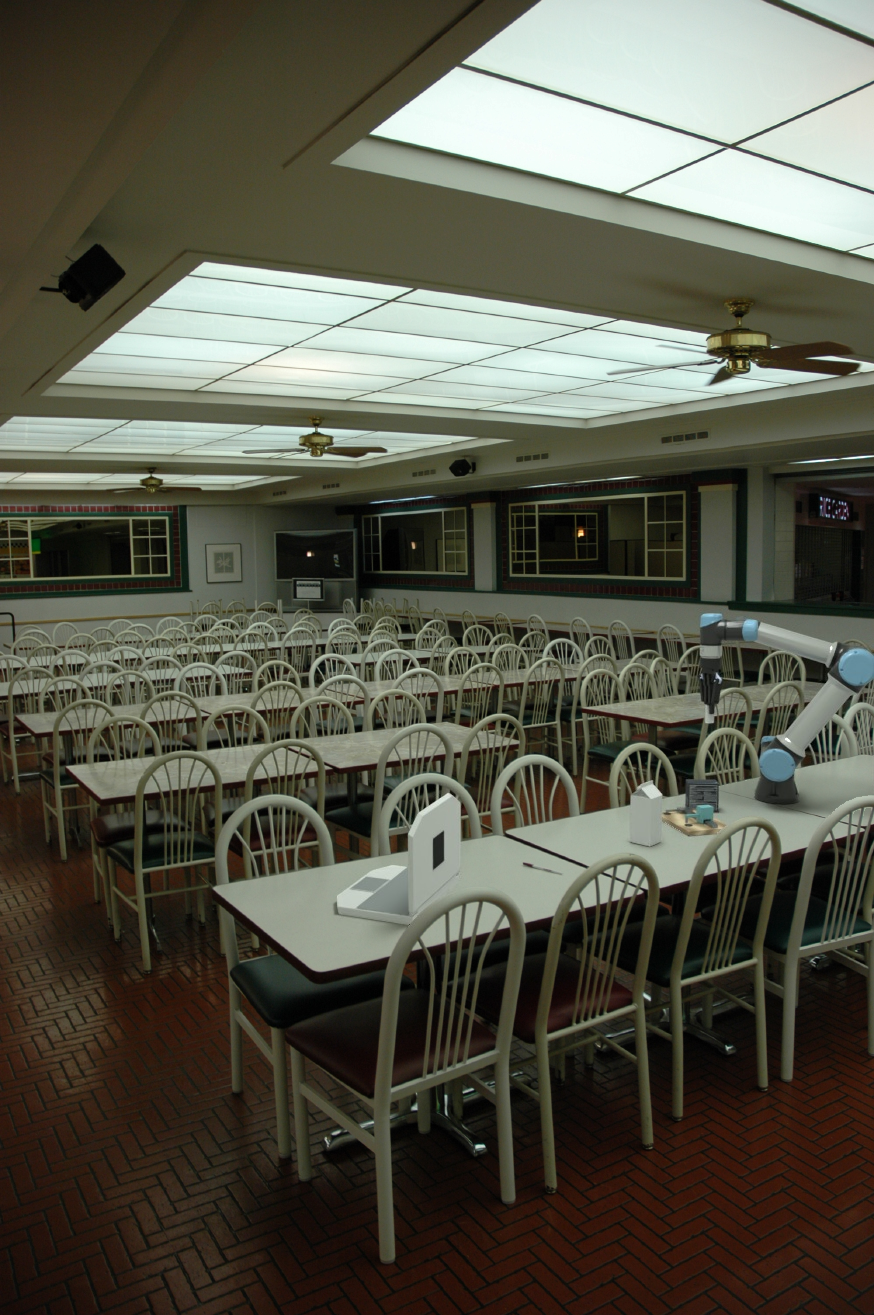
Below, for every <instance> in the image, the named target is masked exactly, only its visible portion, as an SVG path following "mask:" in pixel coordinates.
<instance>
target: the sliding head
mask: <svg viewBox="0 0 874 1315" xmlns="http://www.w3.org/2000/svg"><path fill="white" fill-rule="evenodd" d="M713 810H714V807H712V806H710V805H698V806H697V810H696V814H688V815H685V823H688V818H690V817H696V821H697V822H699V823H701V824H703V820H704V819H709V820H710V821H712V822H713V818H714V812H713Z"/></svg>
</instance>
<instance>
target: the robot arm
mask: <svg viewBox="0 0 874 1315" xmlns="http://www.w3.org/2000/svg"><path fill="white" fill-rule="evenodd" d="M723 617H724V616H723V614H722V613H712V612H711V613H709V612H708V613H703V614H701V615H700V624H699V656H700V658H699V668H700V669H701V674H697V675H696V676H697V680H698V684H699V685H698V686H699V694H700V701H701V703H702V702H703V705H704V723H705V724H714V723H715V707H716V705H719V703H720V698H721V691H722V685H723V683H724V678H723V677H721V676H720V672H719V670H720V669H721V668H723V665H722V663H723V662H722V661H723V660H722V658H721V657H722V656H723V641H727V642H729V641H731V642H732V641H734V642H754V643H756V644H760V645H763V646H767V647H770V648H772V649H775V650H780V651H783V652H786V653H790V654H792V655H796V656H798V657H802V658H806V659H809V660H812V661H816V662H818V663H822V664H825V666H826V668H829V669H830V670H829V672H828V671H827V672H828V673H827V677H828V679H827V681H826V683H824V685H823V686H822V687H821V688H820V689H819V691H818V692H817V693H816V694H815V695H814V697H813V698H812V699H811V701H810V702H809V703H808V704H807V705H806V706H805V708H803V710H802V711H801V713H800V714H799V715H798V716H797V717H796V718H795V720H793V722H792V723H791V725H790V726H789V727H788V729H787V730H786V731H785V732H784V733H782V734H777V735H774V736H773V735H764V736H762V738H761V741H760V745H761V746H760V747H761V748H760V749H761V750H760V755H759V758H758V768H759V771H760V772H759V780H758V782H757V784H756V788H755V789H754V799H756V800H758V801H761V802H764V803H771V804H778V805H780V804H781V805H789V804H795V803H797V802H799V799H800V798H799V797H800V796H799V792H798V791H799V790H798V787H797V785H796V781H795V771H796V769H797V767H798V766H799V765H800V763H801V762H802V761H803V760H804V759H805V757H806V751H805V750H806V749H807V748H808V747H809V746H810V744H811V743H812V742H813V741H814V740H815V738H816V737H817V736H818V735H819V734H820V733H821V732H822V730H823V729H824V727H825V726H826V725H827V724H828V723H829V722H830V720H831V719H832V718H833V717H834V716H835V715H836V713H837V712H838V711H839V709H840V708H842V706H843V705H844V703H846V702H847V700H849V698H850V696H854V695H858V694H859V693H860V692H861V691H862V690H863V688H864V687H866V685H867V684H869V683H870V682H872V681H873V680H874V654H872V652H871V651H870V650H869V649H867V648H866V647H863V646H860V645H859V646H858V645H853V644H847V643H842V642H840V641H834V642H829V641H827V640H824V639H819V638H816V637H812V636H810V635H806V634H802V633H799V632H795V631H792V630H789V629H785V628H782V627H778V626H775V625H772V624H769V623H766V622H765V623H764V622H762V621H758V620H756V619H752V618H751V617H747V616H739V617H737V618H736V619H728V618H727V619H725V618H723Z"/></svg>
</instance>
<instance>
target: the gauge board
mask: <svg viewBox="0 0 874 1315" xmlns="http://www.w3.org/2000/svg"><path fill="white" fill-rule="evenodd" d="M693 812H695V813H696V810H693ZM685 815H686V814H680V813H678V812H677V811H676V812H668V814H666V811H665V812H664V811H662V823H664V822H666V823H667V824H666V823H665V824H666V825H668V824H669V825H668V826H670V825H671V826H673V827H674V828H673V827H672V828H673V829H675V828H676V829H675V830H677V829H678V830H680V831H681V832H680V831H679V832H680V833H682V832H683V833H682V834H684V833H685V834H684V835H685V836H687V835H696V836H702V835H701V834H707V835H715V834H716V833H717V832H719V831H720V830H721V829H722V828H724V827H725V826H726V825H728V824H727V823H725V822H723V821H722V820H719V819H717V818H715V817H713V822H714V823H716V824H718V828H710V827H709V826H707V825H705V824H701V823H699V822H697V821H696V820H695V819H693V818H691V817H690V818H688V823H685ZM671 826H670V827H671ZM678 830H677V831H678ZM716 835H717V834H716Z"/></svg>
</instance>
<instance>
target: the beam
mask: <svg viewBox="0 0 874 1315" xmlns="http://www.w3.org/2000/svg"><path fill="white" fill-rule="evenodd" d="M676 811H677V812H678V813H680V814H686V815H688V814H696V813H695V812H693V809H692V808H690V807H685V806H683V807H681V806H680V807H676V808H673V809H671V808H670V809H665V812H666V814H668V812H676ZM691 818H693V819H695V820H696V817H691ZM703 824H705V825H707V826H709V827H710V828H718V824H716V823H714V822H712V821H710V820H709V819H704V820H703Z"/></svg>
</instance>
